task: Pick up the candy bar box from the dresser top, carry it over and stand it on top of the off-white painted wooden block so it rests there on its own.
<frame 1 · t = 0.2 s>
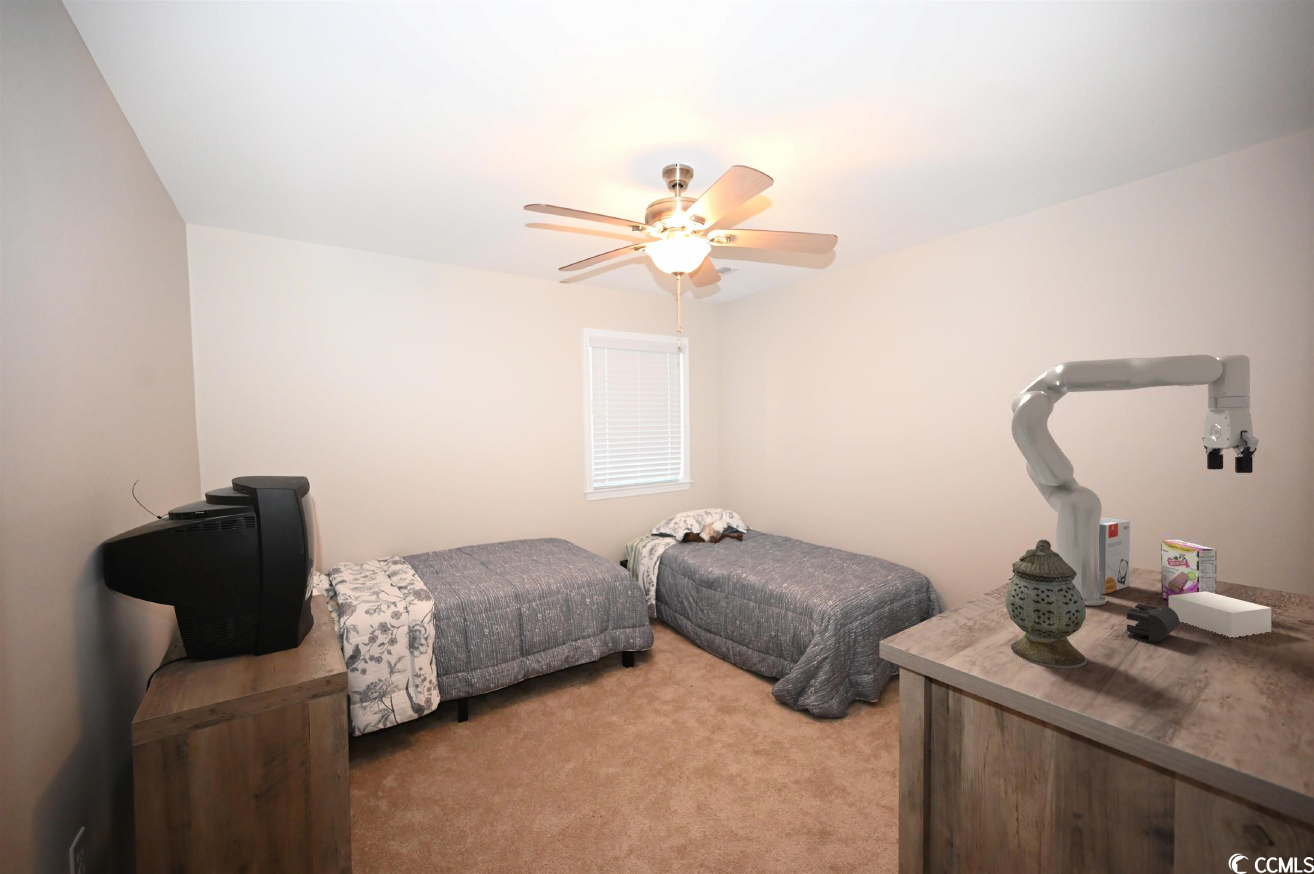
hand: (1229, 471, 143), 36 cm above the table, tool pointing down, fingers open, 9 cm apart
painted block: (1217, 626, 135), on the table
lantern: (1045, 655, 121), on the table
candy bar box: (1187, 605, 149), on the table
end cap: (1152, 638, 129), on the table
hard drive box: (1102, 588, 165), on the table
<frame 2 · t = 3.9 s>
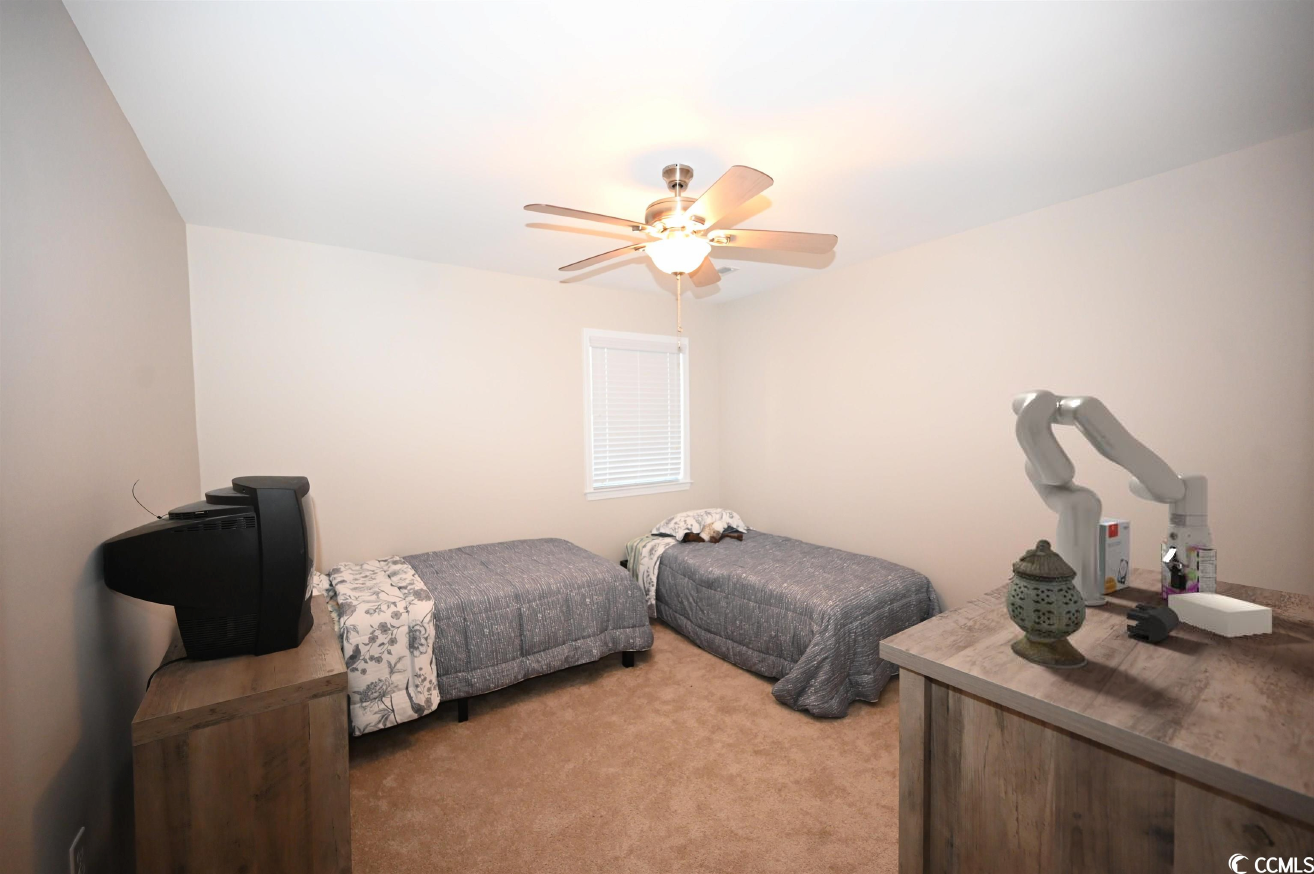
hand: (1187, 587, 149), 5 cm above the table, tool pointing down, fingers closed on candy bar box, 5 cm apart
candy bar box: (1187, 605, 149), on the table, touching gripper
everything else where it was.
when the fingers open (12 cm above the table, at t = 9.7 s): candy bar box drops 1 cm, resting on painted block.
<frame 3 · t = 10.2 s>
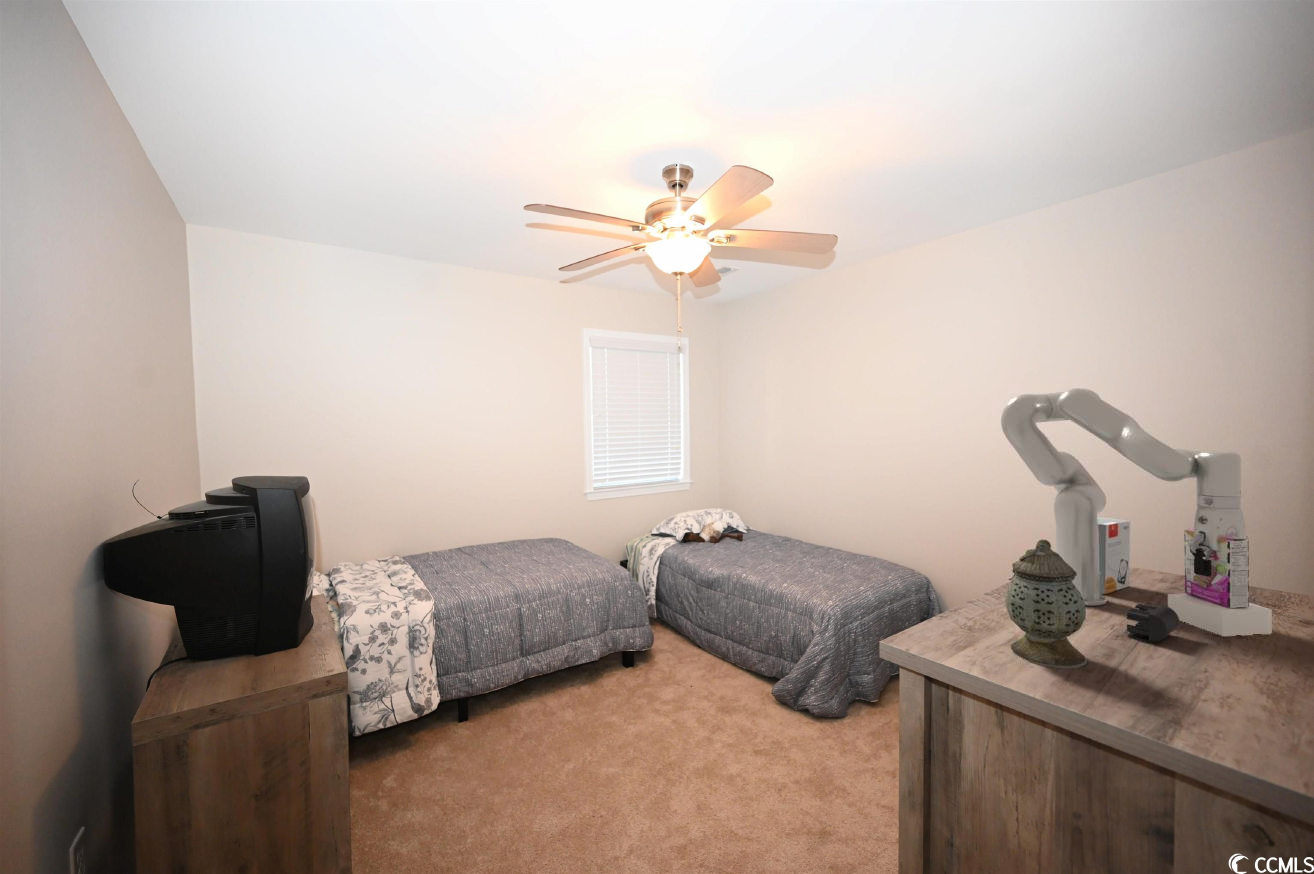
hand: (1218, 573, 134), 12 cm above the table, tool pointing down, fingers open, 9 cm apart
painted block: (1217, 626, 135), on the table, touching candy bar box
candy bar box: (1215, 601, 135), point 6 cm above the table, touching painted block
everything else where it was.
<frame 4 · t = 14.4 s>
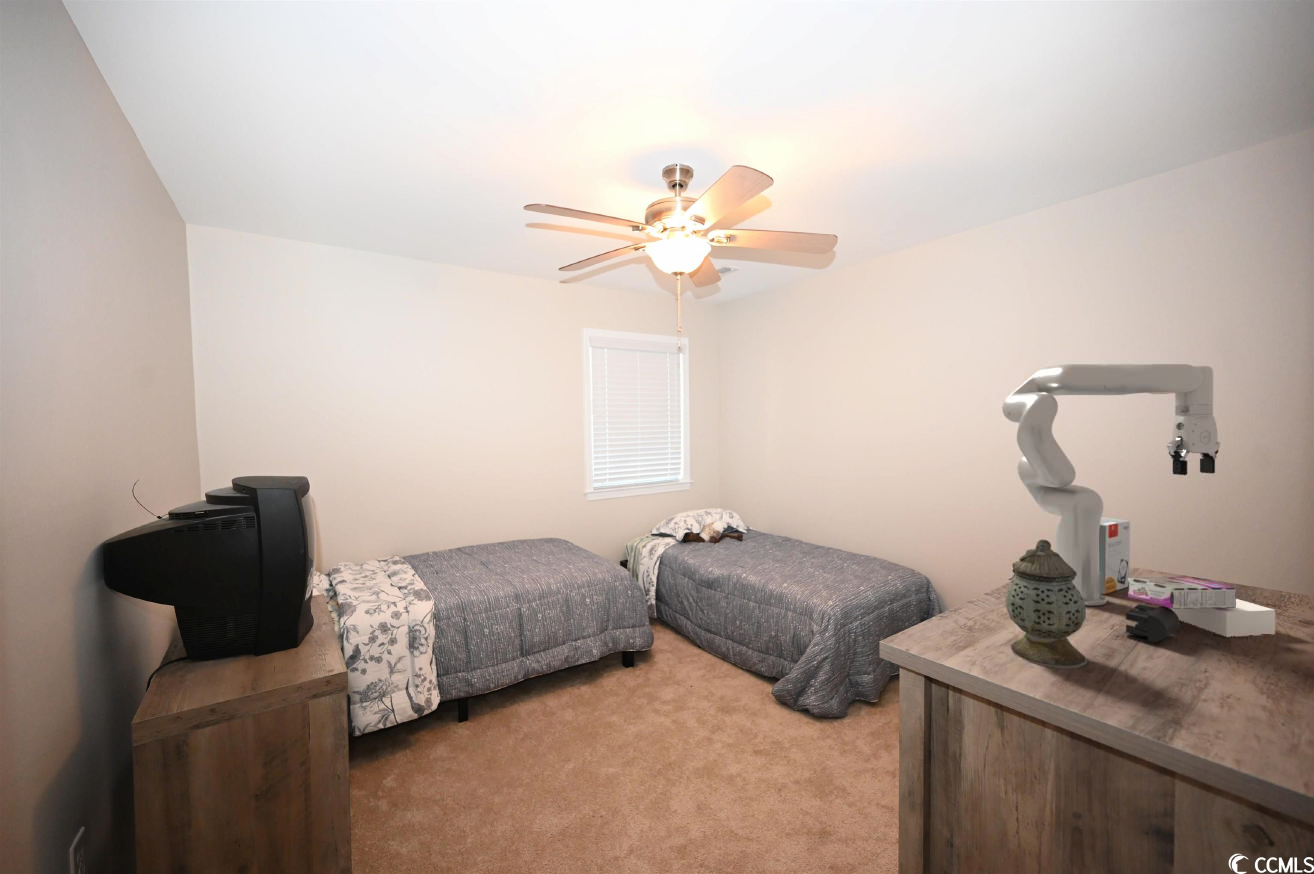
hand: (1193, 473, 154), 34 cm above the table, tool pointing down, fingers open, 9 cm apart
candy bar box: (1212, 592, 134), point 8 cm above the table, touching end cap, painted block
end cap: (1152, 639, 128), on the table, touching candy bar box
everything else where it was.
at the end: candy bar box inside the target area on the painted block (2.4 cm from its centre), point 8.4 cm above the painted block's base; candy bar box touching nothing; the gripper is holding nothing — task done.
